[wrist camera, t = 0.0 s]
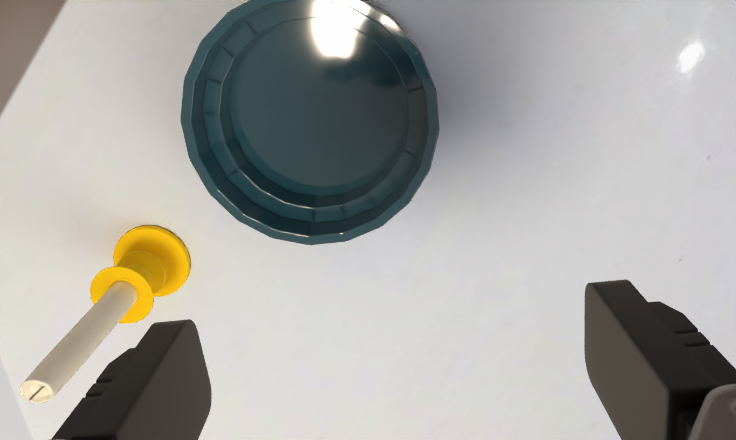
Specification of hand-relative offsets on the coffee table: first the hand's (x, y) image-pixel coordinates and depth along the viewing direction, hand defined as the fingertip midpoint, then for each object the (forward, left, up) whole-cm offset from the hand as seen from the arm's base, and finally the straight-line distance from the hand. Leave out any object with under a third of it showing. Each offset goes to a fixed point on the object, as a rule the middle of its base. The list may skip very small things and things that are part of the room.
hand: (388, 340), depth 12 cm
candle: (+8, -17, -27) cm, 33 cm away
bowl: (-1, -4, -27) cm, 27 cm away
